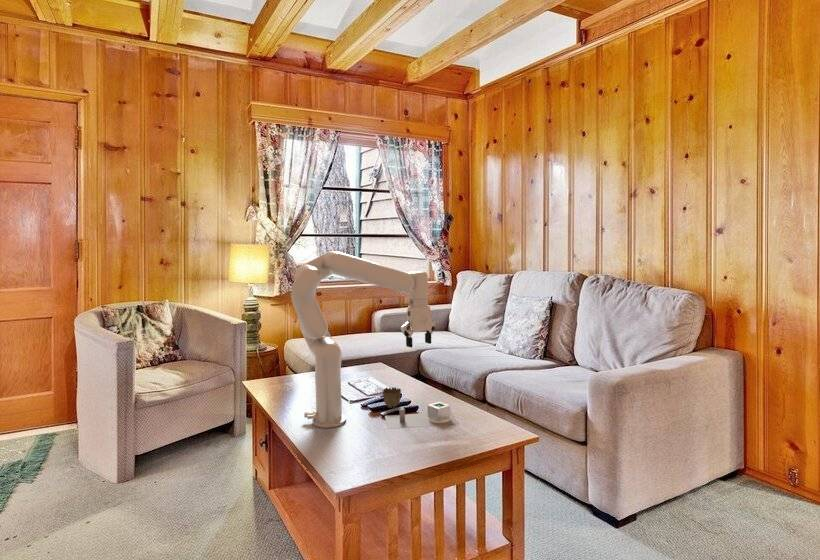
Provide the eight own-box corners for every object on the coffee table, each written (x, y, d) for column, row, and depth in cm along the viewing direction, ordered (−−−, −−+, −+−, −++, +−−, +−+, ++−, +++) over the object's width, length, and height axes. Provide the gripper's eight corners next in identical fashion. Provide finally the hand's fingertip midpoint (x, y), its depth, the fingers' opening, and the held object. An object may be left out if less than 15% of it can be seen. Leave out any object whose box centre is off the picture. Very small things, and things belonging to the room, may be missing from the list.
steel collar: (438, 422, 187) (438, 409, 187) (427, 417, 192) (427, 404, 192) (450, 418, 191) (450, 405, 191) (439, 414, 196) (439, 401, 195)
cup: (398, 412, 202) (398, 393, 201) (380, 411, 203) (380, 392, 203) (402, 406, 209) (402, 387, 208) (385, 405, 211) (385, 386, 210)
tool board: (388, 432, 182) (387, 415, 182) (384, 418, 195) (384, 403, 195) (458, 427, 186) (458, 411, 186) (450, 414, 199) (450, 399, 198)
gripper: (407, 305, 193) (407, 350, 195) (441, 301, 204) (441, 343, 206) (395, 303, 199) (395, 346, 201) (428, 299, 210) (429, 340, 212)
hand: (418, 344), depth 203 cm, fingers open, 9 cm apart
